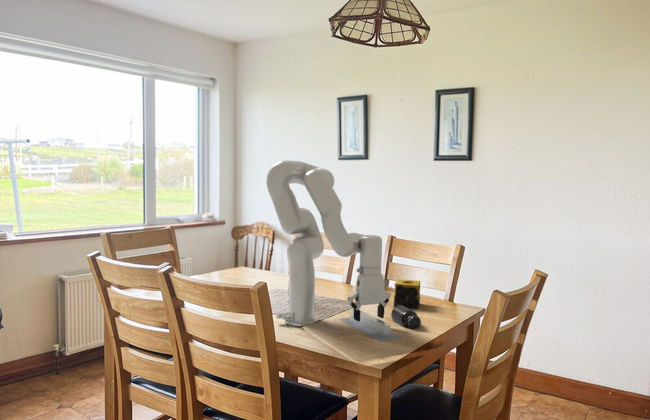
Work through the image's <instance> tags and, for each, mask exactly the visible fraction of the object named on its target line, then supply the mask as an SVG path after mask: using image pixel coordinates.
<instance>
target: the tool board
mask: <svg viewBox="0 0 650 420" xmlns="http://www.w3.org/2000/svg"><path fill="white" fill-rule="evenodd" d="M339 321H342V322H344V323H346V324H347V325H349V326H351V327H353V328H355V329H356V330H358V331H360V332H361V333H364V334H366V335H367V336H369V337H371V338H373V339H374V340H377V341H378V342H380V343H382V342H387V341H394V340H400V339H404V337H402V336H401V335H398V334H396V333H395V332H393V331H391V330H390V337H382V336H380V335H378V334H376V333H374V332H373V331H371V330H369V329H367V328H365V327H363V326H361V325H359V324H357V323H356V322H354V321H352V320H351V316H350V317H342V318H339Z"/></svg>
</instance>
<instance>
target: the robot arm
mask: <svg viewBox="0 0 650 420" xmlns="http://www.w3.org/2000/svg"><path fill="white" fill-rule="evenodd" d="M290 184H298V185H301V186H304V187H305V189H306V190H307V192H308V194H309V196H310V198H311V200H312V202H313V203H314V205H315V207H316V209H317V211H318V213H319V215H320V217H321V218H320V220H321V224H322V228H323V232H324V235H325V237H326V239H327V241H328V242H329V244H330V246H331V248H332V249H333V251H334V252H335V253H336V254H337V255H338V256H340V257H342V258H348V257H351V256H353V255H356V254H359V267H358V268H356V273H358V274H357V278H356V283H355V290H354V291H355V292H354V293H351V294H350V295H349V296H347V302H348V303H349V306H350V307H351V309H354V315H353V317H354V320H356V321H358V322H359V321H360V310H361V307H362V306H368V305H377V312H376V313H377V315H376V316H377V317H378V318H380V319H384V318H385V308H386V307H387V304H388V303H389V302H390V298H391V296H392V293H391V292H388V291H387V290H386V287H385V286H386V285H385V277H384V274H382V256H383V255H382V254H383V238H382V237H381V236H379V235H375V234H362V233H358V232H350V233H348V231H347V230H346V228H345V226H344V224H343V220H342V216H341V212H342V205H343V203H342V201H341V199H340V198H339V196H338V195H337V193H336V191H335V189H334V186H335V177H334V175H333V173H332V172H331V171H330V170H329V169H326V168H323V167H319V166H316V165H314V164H310V163H307V162H304V161H300V160H280V161H277V162H276V163H274V164H273V165H272V166H271V167H270V169H269V171H268V172H267V176H266V187H267V188H266V189H267V191H268V193H269V196H270V198H271V201H272V203H273V207H274V210H275V213H276V216H277V218H278V221H279V223H280V226H281V229H282V231H283V232H284V233H285V234H287V235H290V236H294V235H296V238H293V239H292V240H291V241H290V243H289V244H288V246H287V249H286V256H287V264H288V308H287V309H285V311H284V312H279V313H276V315H275V317H276V319H277V320H279V319H282V320H283V321H284V323H285V324H286V325H288V326H291V327H292V326H293V327H304V325H305V324H312V323H316V322H318V320H319V317H318V316H316V315H315V309H316V307H315V297H316V294H315V289H316V272H315V266H314V260H317V259H318V258H319V257H321V256H322V254H323V253H324V250H325V246H324V245H325V244H324V239H323V237H322V234H321V232H320V228H319V225H318V223H317V221H316V219H315V216H314V215H313V213H312V212H311V211H310V210H309V209H308V208H305V207H300V205H299V204H298V201H297V197H296V196H295V194H294V191H292V189H291V187H290ZM354 301H355V302H354ZM303 324H304V325H303Z"/></svg>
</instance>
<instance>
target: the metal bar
mask: <svg viewBox="0 0 650 420" xmlns="http://www.w3.org/2000/svg"><path fill="white" fill-rule="evenodd" d="M359 310H360V321H359V322H358V321H356V320H354V317H353V315H354V309H353V308H351V309H350V317H351V320H352V321H354V322H356V323H357V324H359V325H361V326H363V327H365V328H367V329H369V330H371V331H373V332H374V333H376V334H378V335H380V336H382V337H390V331H391V324H390V323H388V322H385V321H384V320H381V318H380V319H379V318H377V317H376V316H373V315H371V314H369V313H367V312H364V311H363V310H361V309H359Z"/></svg>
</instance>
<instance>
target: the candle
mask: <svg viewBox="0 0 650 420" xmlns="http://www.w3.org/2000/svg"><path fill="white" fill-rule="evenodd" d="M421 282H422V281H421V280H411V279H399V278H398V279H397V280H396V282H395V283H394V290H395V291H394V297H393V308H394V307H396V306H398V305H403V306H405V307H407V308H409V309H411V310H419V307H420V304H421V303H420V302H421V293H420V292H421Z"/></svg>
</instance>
